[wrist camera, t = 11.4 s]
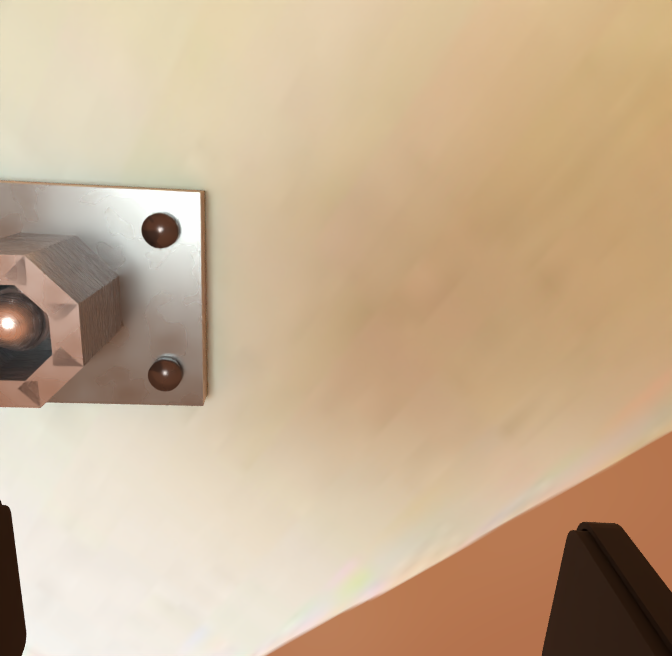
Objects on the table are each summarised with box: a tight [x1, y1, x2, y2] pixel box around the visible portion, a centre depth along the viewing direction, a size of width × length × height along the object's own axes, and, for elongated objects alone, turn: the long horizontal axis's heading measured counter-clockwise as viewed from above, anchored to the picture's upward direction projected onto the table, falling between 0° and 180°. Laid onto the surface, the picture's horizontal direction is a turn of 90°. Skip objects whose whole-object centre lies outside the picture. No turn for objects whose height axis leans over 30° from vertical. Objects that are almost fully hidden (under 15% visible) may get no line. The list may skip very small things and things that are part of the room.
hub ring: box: [0, 233, 122, 408], centre depth 28 cm, size 7×7×6 cm
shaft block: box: [0, 180, 207, 406], centre depth 29 cm, size 16×12×7 cm
